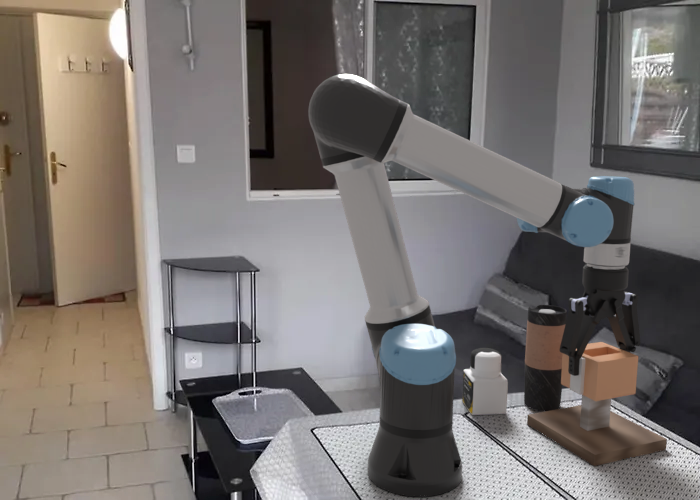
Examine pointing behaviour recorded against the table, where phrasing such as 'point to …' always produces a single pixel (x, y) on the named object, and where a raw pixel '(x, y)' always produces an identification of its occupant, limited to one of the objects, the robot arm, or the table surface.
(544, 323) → the travel mug
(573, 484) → the table surface
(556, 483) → the table surface
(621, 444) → the stand
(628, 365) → the tan cube with window
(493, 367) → the medicine bottle
